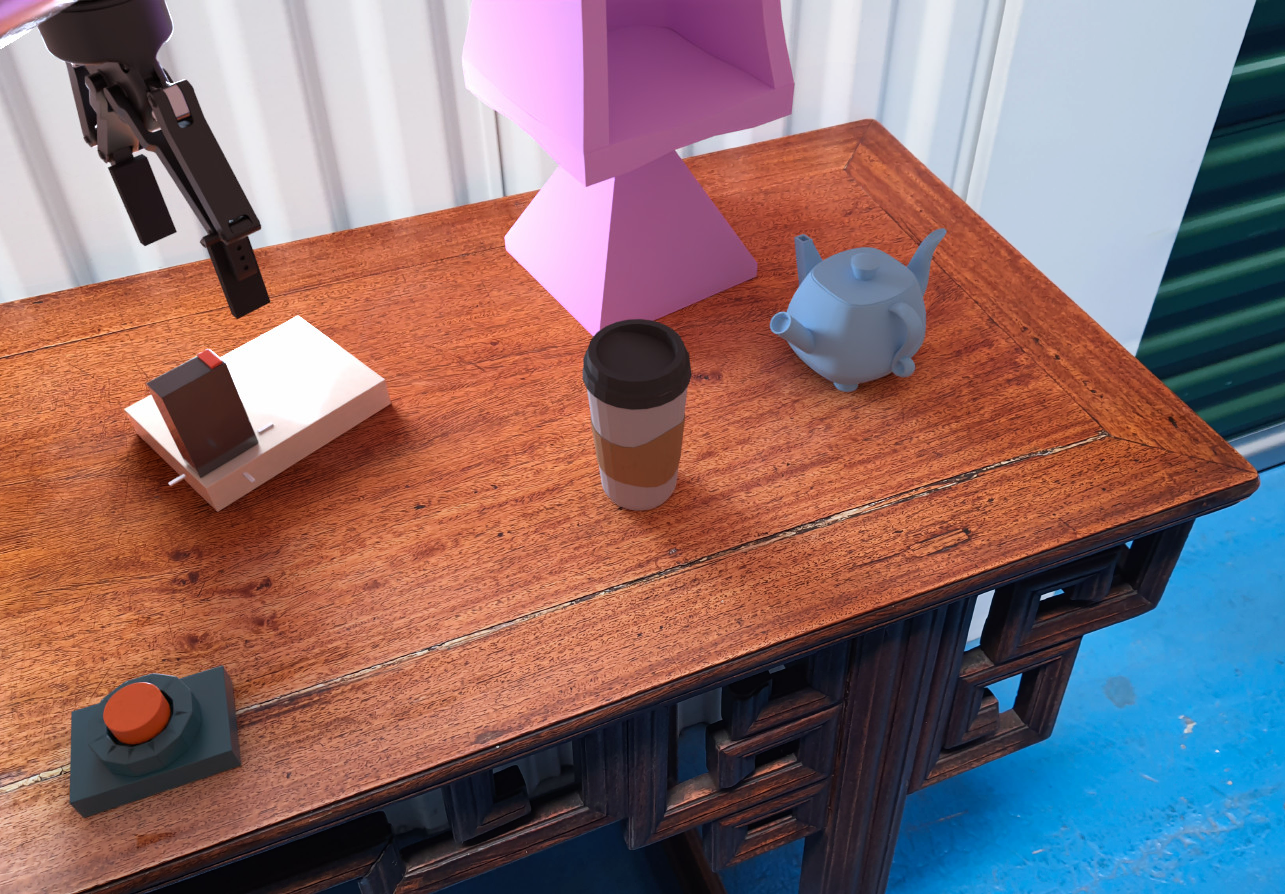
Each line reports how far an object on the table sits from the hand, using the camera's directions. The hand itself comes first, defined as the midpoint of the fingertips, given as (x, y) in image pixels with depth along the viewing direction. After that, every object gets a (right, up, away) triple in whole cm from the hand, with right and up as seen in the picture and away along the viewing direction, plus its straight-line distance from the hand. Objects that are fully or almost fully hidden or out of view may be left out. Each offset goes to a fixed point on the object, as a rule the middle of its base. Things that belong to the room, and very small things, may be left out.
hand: (203, 271), depth 75 cm
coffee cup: (+33, -17, +10) cm, 38 cm away
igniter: (0, -34, -7) cm, 34 cm away
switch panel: (-1, -12, +15) cm, 19 cm away
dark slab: (-2, -14, +9) cm, 16 cm away
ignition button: (0, -31, -9) cm, 32 cm away
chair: (+32, +7, +33) cm, 46 cm away
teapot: (+53, -4, +22) cm, 57 cm away
